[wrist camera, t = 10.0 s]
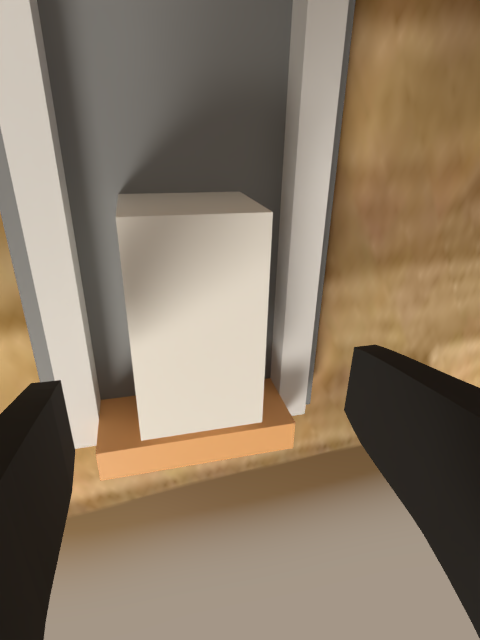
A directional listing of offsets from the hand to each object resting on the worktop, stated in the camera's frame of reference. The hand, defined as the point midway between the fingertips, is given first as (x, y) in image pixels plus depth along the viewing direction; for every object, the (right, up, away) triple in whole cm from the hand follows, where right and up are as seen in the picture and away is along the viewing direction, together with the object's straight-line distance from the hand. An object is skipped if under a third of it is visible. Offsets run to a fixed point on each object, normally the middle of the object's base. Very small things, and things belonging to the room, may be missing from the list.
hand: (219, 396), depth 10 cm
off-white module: (-2, +3, +5) cm, 6 cm away
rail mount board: (-2, +7, +4) cm, 8 cm away
